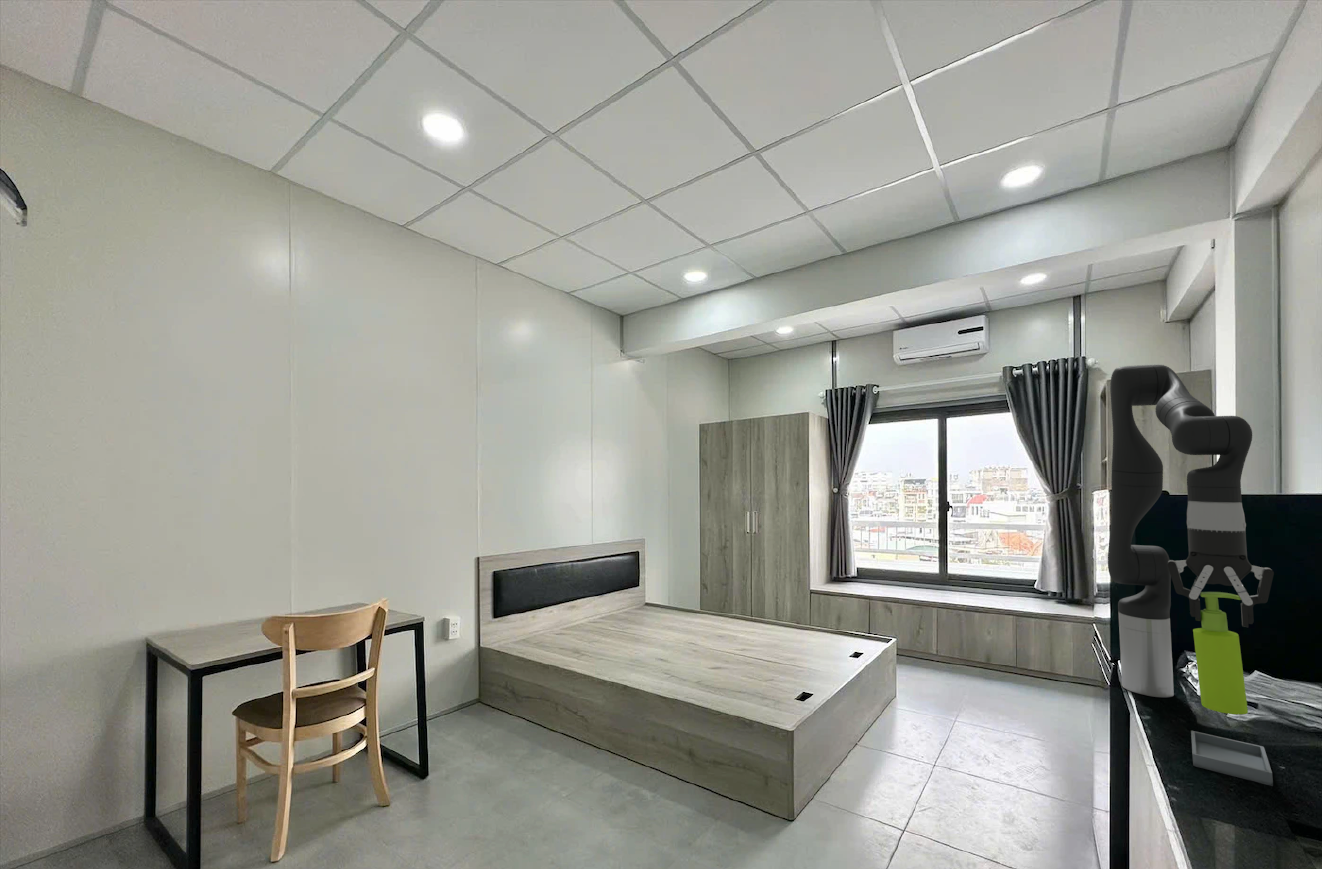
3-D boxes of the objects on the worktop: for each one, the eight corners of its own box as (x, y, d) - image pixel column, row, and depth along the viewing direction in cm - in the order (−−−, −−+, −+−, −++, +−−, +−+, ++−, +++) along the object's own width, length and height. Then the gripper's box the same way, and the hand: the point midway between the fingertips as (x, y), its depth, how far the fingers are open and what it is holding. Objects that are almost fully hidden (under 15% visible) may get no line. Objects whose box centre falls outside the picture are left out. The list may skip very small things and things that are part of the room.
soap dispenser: (1260, 718, 97) (1245, 597, 99) (1204, 710, 101) (1190, 593, 103) (1252, 707, 101) (1238, 591, 103) (1199, 699, 106) (1186, 588, 107)
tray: (1191, 741, 108) (1191, 730, 108) (1264, 758, 102) (1263, 746, 102) (1193, 766, 99) (1192, 754, 100) (1273, 786, 93) (1272, 773, 93)
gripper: (1271, 528, 101) (1277, 626, 100) (1162, 523, 111) (1167, 612, 110) (1276, 531, 96) (1283, 635, 95) (1162, 526, 105) (1167, 620, 104)
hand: (1221, 622), depth 102 cm, fingers closed on soap dispenser, 5 cm apart
